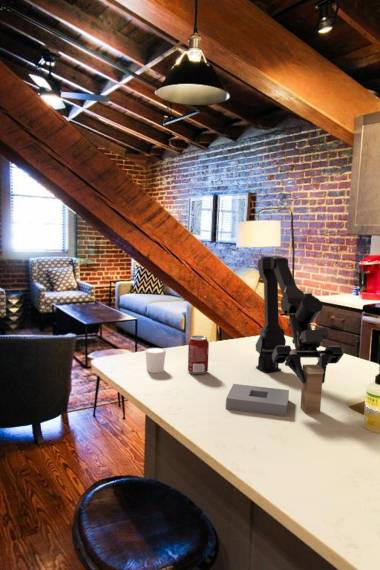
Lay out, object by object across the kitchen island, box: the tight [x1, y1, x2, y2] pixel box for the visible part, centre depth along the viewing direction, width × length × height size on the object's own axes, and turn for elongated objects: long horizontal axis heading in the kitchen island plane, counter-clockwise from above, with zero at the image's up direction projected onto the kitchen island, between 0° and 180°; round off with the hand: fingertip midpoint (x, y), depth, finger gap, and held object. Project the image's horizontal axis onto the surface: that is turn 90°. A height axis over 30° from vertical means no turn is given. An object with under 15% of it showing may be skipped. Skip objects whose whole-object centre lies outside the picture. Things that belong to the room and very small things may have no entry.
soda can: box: [187, 335, 210, 376], centre depth 152 cm, size 7×7×12 cm
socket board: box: [225, 383, 290, 417], centre depth 126 cm, size 12×16×3 cm
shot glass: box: [145, 347, 167, 374], centre depth 154 cm, size 7×7×7 cm
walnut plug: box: [299, 364, 324, 415], centre depth 122 cm, size 4×4×12 cm
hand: (313, 382), depth 121 cm, fingers open, 5 cm apart
